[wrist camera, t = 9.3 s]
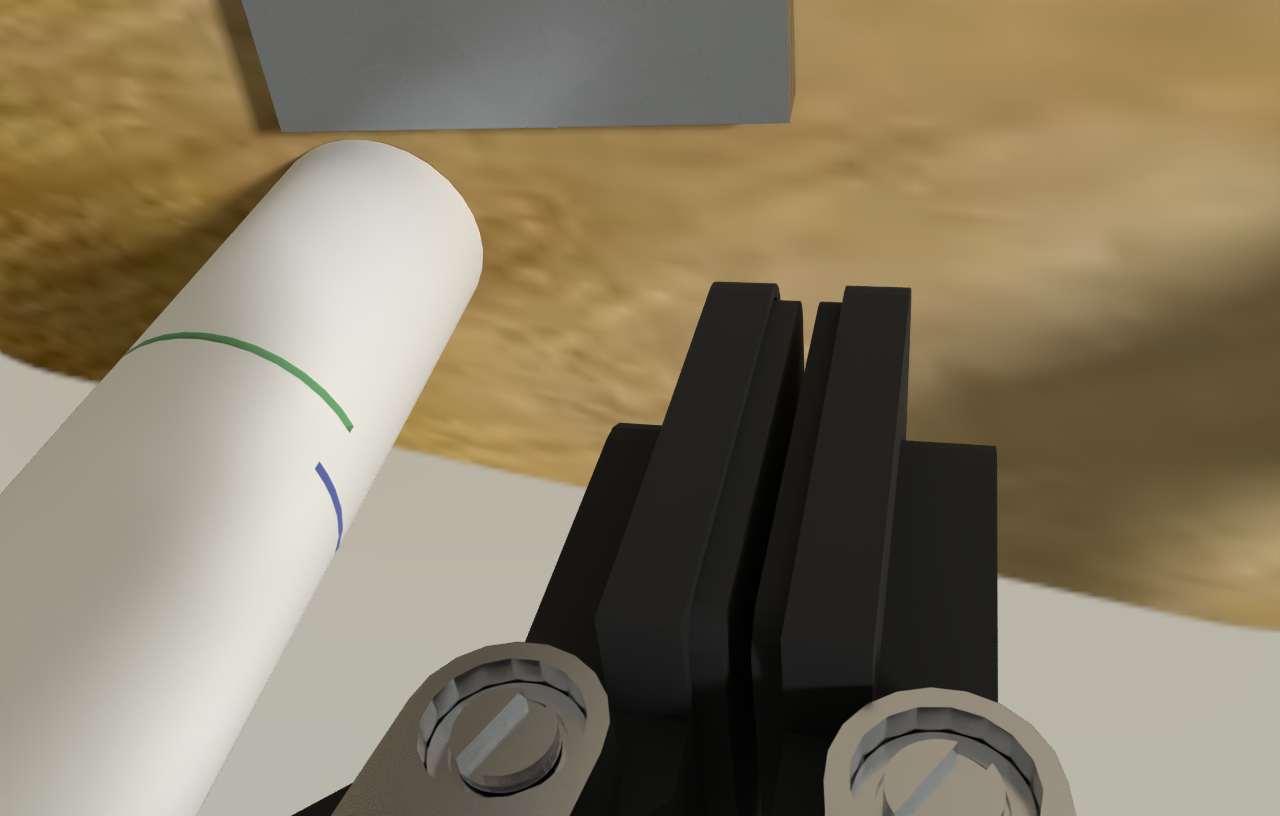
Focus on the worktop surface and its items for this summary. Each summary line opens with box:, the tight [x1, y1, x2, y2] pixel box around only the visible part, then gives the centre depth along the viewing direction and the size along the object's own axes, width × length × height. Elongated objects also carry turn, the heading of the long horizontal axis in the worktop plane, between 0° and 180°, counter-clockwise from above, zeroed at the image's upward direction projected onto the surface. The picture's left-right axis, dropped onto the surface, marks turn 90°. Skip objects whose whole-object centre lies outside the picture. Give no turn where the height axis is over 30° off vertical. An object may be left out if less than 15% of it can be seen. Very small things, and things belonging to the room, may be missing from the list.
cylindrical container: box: [0, 140, 483, 816], centre depth 30 cm, size 7×7×25 cm
